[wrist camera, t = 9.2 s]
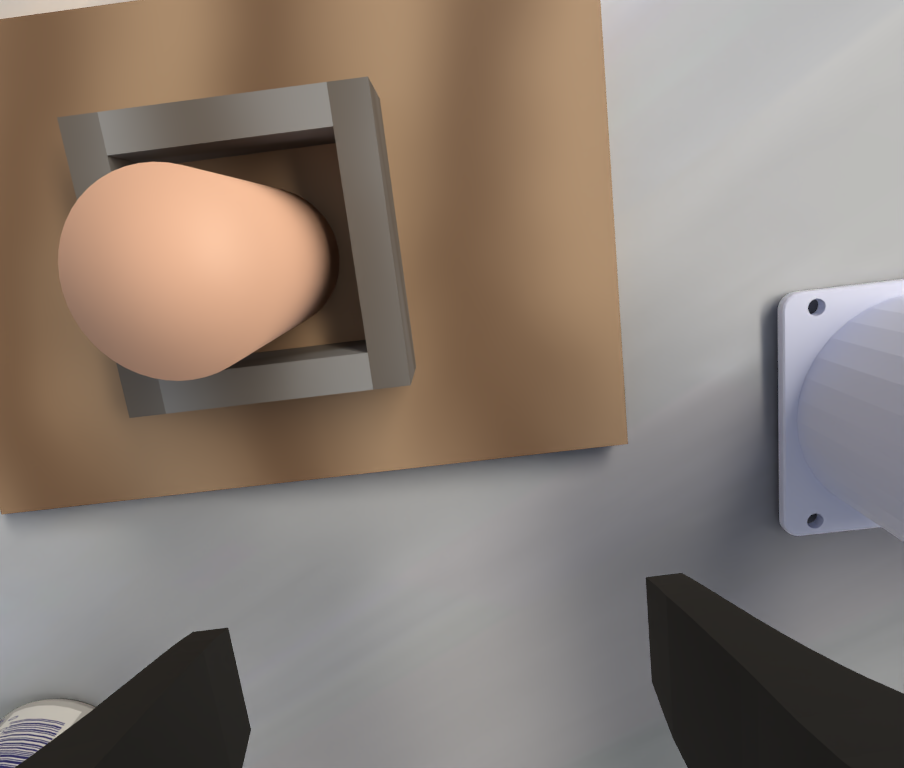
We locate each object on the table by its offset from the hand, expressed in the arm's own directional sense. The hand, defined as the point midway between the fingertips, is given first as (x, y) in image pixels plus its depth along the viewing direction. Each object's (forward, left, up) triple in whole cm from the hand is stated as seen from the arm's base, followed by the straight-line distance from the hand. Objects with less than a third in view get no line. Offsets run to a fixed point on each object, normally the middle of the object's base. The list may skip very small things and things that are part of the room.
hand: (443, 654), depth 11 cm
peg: (+4, -7, -9) cm, 12 cm away
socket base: (+4, -7, -10) cm, 13 cm away
